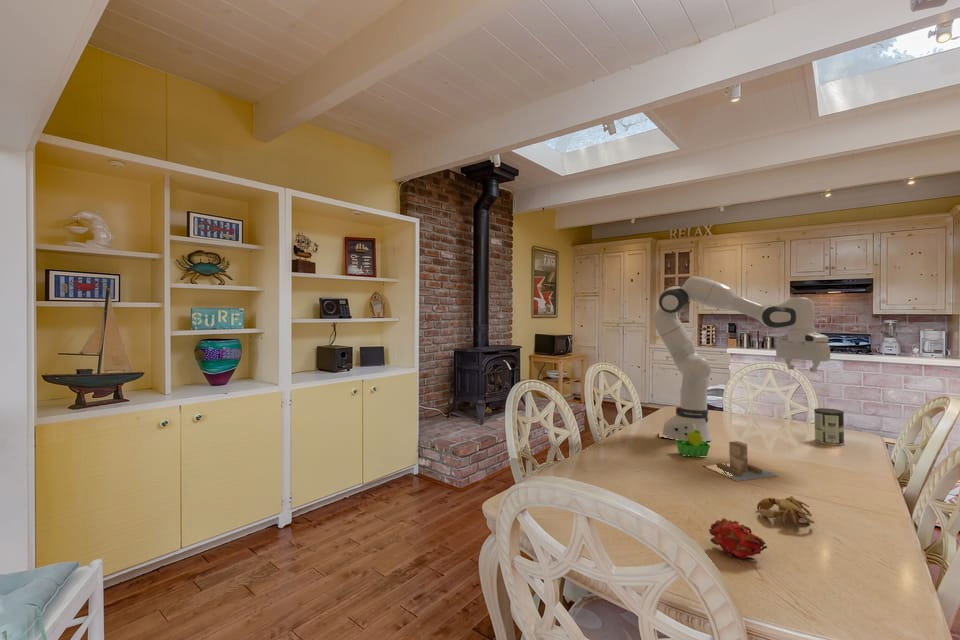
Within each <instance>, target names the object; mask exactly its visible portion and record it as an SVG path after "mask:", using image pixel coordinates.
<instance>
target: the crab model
mask: <svg viewBox="0 0 960 640" xmlns="http://www.w3.org/2000/svg"><path fill="white" fill-rule="evenodd" d="M774 505H776V506H778V509H779V510H770V509H771V508H773V507H774ZM806 507H807V508H810V506H809V505H808V504H807V503H805V502H802V501H800V500H799V499H796V498H794V496H792V495H790V496H789V497H786V498H781V499H778V498H775V497H767V498H763V499H761V500H760V501H759V502H758V503H757V505H756V509H757V511H758V512H759V514H760V515H762V517H764V518H767V519H775V518H780V517H781V518H782V522H783V524H784V525H785V526H787V525H788V524H787V520H788V516H790V517H791V519H792V522H793V524H794V526H795V527H796V528H798V521H797V520H800V519H802V518H803V520H806V521H807V522H808V525H809V526H810V524H815V521H814V520H812V519H811V518H809V517H812V515H813V514H812V513H811V512H810V511H809V509H807V508H806ZM808 516H809V517H808Z"/></svg>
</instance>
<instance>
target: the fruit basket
mask: <svg viewBox="0 0 960 640" xmlns="http://www.w3.org/2000/svg"><path fill="white" fill-rule="evenodd" d="M687 438H688V440H676V441H675V444H676V448H677V450H678V453H679V452H680V453H681V454H682V455H685V456H688V455H689V456H707V457H708V453H709V451H710V448H711V445H709V444H708V442H704V441H702V437H701V435H700V432H699V431H698V430H694V431H692V432H690V433H689V434H688V436H687ZM680 453H679V454H680ZM681 454H680V455H681ZM682 455H681V456H682Z"/></svg>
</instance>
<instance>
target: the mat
mask: <svg viewBox="0 0 960 640" xmlns="http://www.w3.org/2000/svg"><path fill="white" fill-rule="evenodd" d="M722 463H723V462H716V463H715V464H716V465H717V467H718V468H720V469H722V470H723V471H724V473H725V474H726V475H727V473H726V472H729V474H730V473H731V474H732V475H733V476H730V477H729V475H727V476H728V477H729V478H728V477H727V476H726V475H725V474H724V473H723V472H722V473H723V474H724V475H725V476H726V478H728V479H730V478H732V479H733V480H732V479H731V480H732V481H734V480H735V481H734V482H742V480H743V481H748V480H751V481H752V480H757V479H758V480H759V479H766V478H774V477H775V478H776V477H779V475H778V474H775V473H772V472H770V471H767V470H765V469H762V468H760V467H757V466H755V465H752V464H750V463H748V472H741V471H739V470H736V469H734V468H731V467H729V466H727V463H728V462H724V463H725V465H724V464H722ZM725 471H726V472H725ZM731 474H730V475H731ZM725 476H724V477H725Z"/></svg>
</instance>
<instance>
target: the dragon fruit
mask: <svg viewBox="0 0 960 640" xmlns="http://www.w3.org/2000/svg"><path fill="white" fill-rule="evenodd" d="M708 531H709V534H710V535H711V536H712V538H711V539H710V541H711V543H712V544H714V545H716V546H720V547H721V548H722V550H723V552H724V551H726V552H725V553H726V554H727V557H732V556H733V555H734V556H736V557H738V558H740V559H742V560H744V561H753V560H755V558H753V556H755V555H761V552H762V551H764V550H765V549H767V548H768V546H767V543H766V542H765V541H764V540H763V538H762V537H760V536H758V535H755V534H754V533H752V530H751V528H750V527H748V526H747V525H744V524H740V523H739V522H738V521H736V520H734V521H732V520H730V519H729V520H728V519H727V518H724V517H722V518H721V520H716V521H715V523H711V525H710V528H709V529H708ZM764 545H765V546H764Z"/></svg>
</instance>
